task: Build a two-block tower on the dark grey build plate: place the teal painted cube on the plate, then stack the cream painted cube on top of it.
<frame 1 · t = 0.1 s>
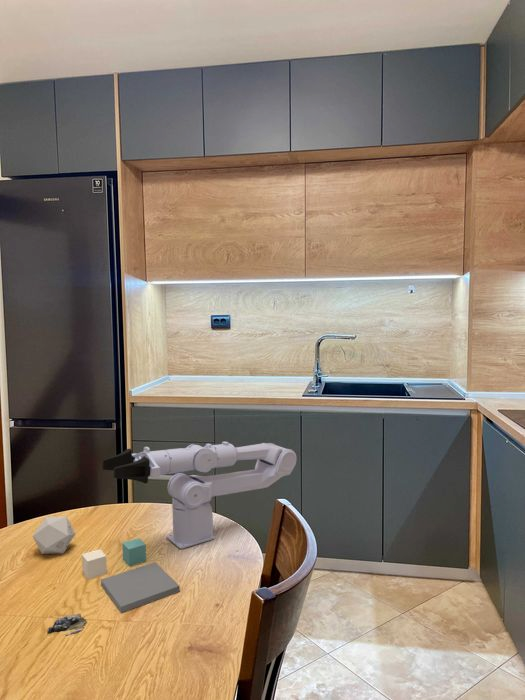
hand: (108, 468, 110), 22 cm above the table, tool horizontal, fingers open, 7 cm apart
teal cube: (134, 560, 112), on the table
cream cube: (94, 572, 107), on the table
build plate: (139, 588, 100), on the table
blueberries: (62, 631, 88), on the table
die: (55, 551, 117), on the table
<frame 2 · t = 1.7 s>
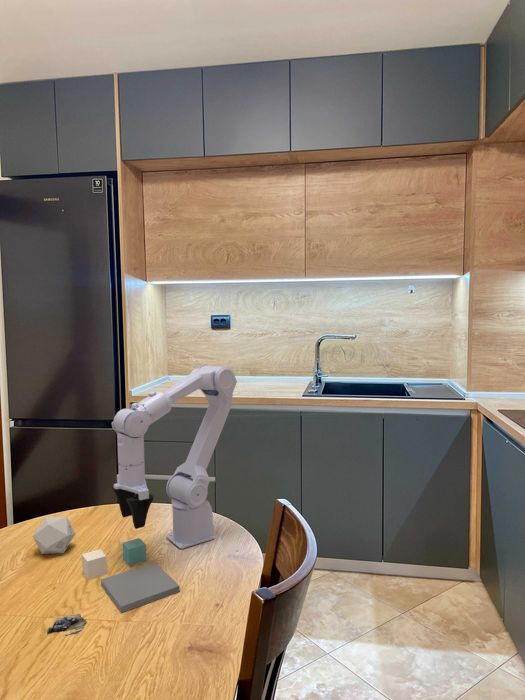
hand: (133, 521, 112), 9 cm above the table, tool pointing down, fingers open, 7 cm apart
nothing on the table moved.
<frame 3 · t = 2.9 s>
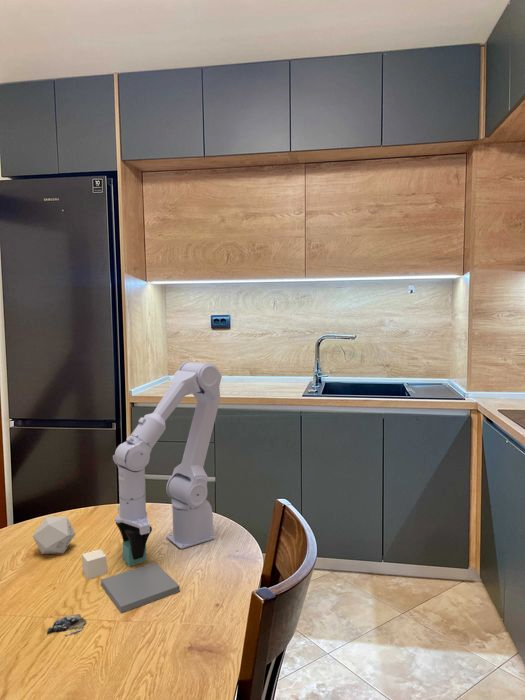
hand: (134, 554, 112), 1 cm above the table, tool pointing down, fingers closed on teal cube, 4 cm apart
teal cube: (134, 560, 112), on the table, touching gripper
everything else where it was.
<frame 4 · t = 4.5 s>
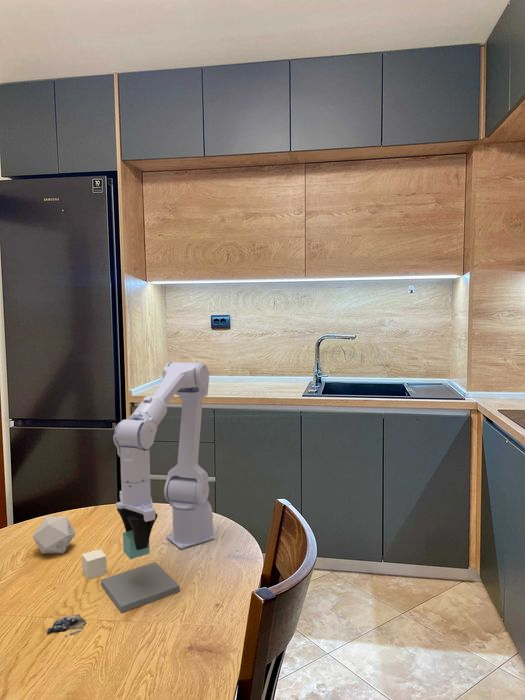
hand: (137, 544, 100), 9 cm above the table, tool pointing down, fingers closed on teal cube, 4 cm apart
teal cube: (136, 552, 100), point 7 cm above the table, touching gripper
everything else where it was.
when the fingers open (4 cm above the table, at t = 6.0 s): teal cube stays where it is, resting on build plate.
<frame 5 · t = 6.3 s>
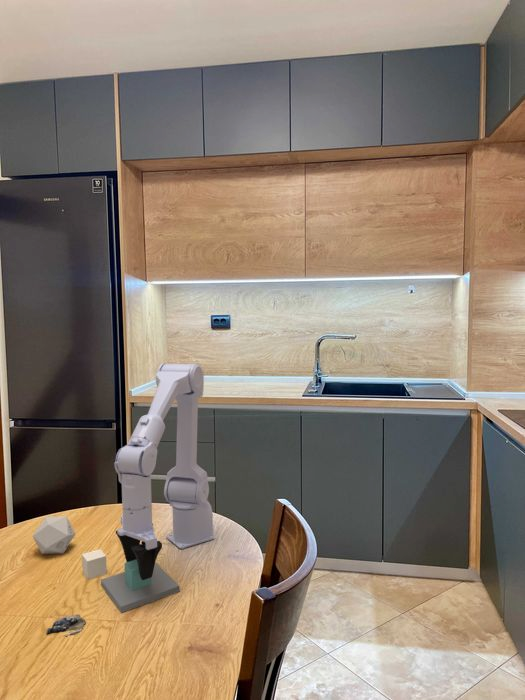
hand: (139, 570, 100), 4 cm above the table, tool pointing down, fingers open, 7 cm apart
teal cube: (138, 583, 100), point 1 cm above the table, touching build plate
everything else where it was.
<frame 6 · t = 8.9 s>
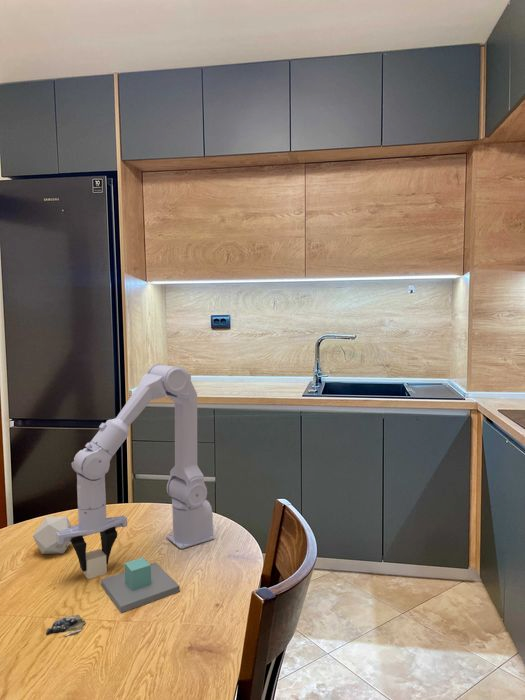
hand: (94, 566, 107), 1 cm above the table, tool pointing down, fingers closed on cream cube, 4 cm apart
cream cube: (94, 572, 107), on the table, touching gripper
everything else where it was.
when the fingers open (8 cm above the table, at t = 11.8 s): cream cube stays where it is, resting on teal cube.
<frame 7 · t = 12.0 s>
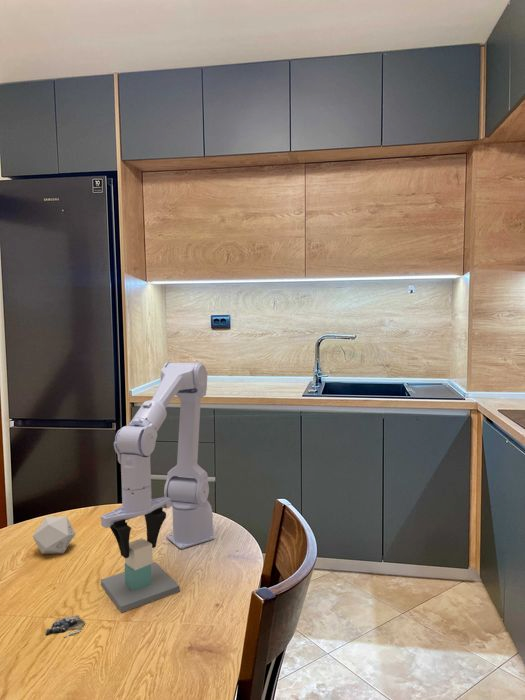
hand: (138, 551, 100), 8 cm above the table, tool pointing down, fingers open, 5 cm apart
teal cube: (138, 583, 100), point 1 cm above the table, touching build plate, cream cube
cream cube: (138, 563, 100), point 5 cm above the table, touching teal cube
everything else where it was.
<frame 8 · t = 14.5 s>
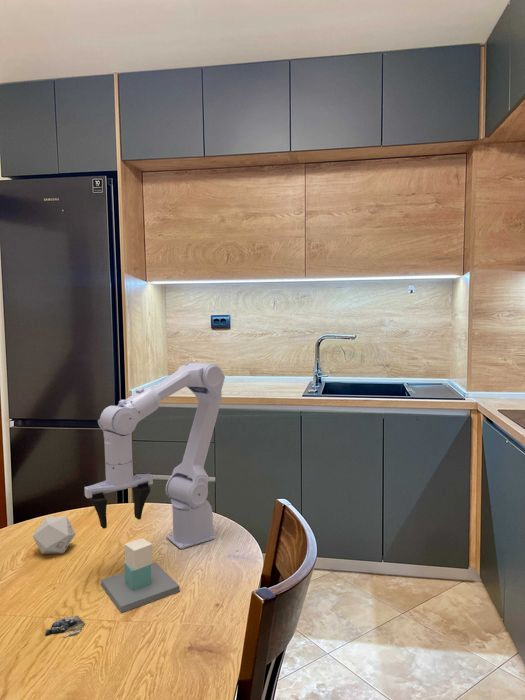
hand: (121, 522, 108), 10 cm above the table, tool pointing down, fingers open, 7 cm apart
nothing on the table moved.
at the end: teal cube 0.3 cm off-centre on the build plate, point 1.2 cm above the build plate's base; cream cube 0.3 cm off-centre on the teal cube, point 4.0 cm above the teal cube's base; cream cube tilted 0° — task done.
